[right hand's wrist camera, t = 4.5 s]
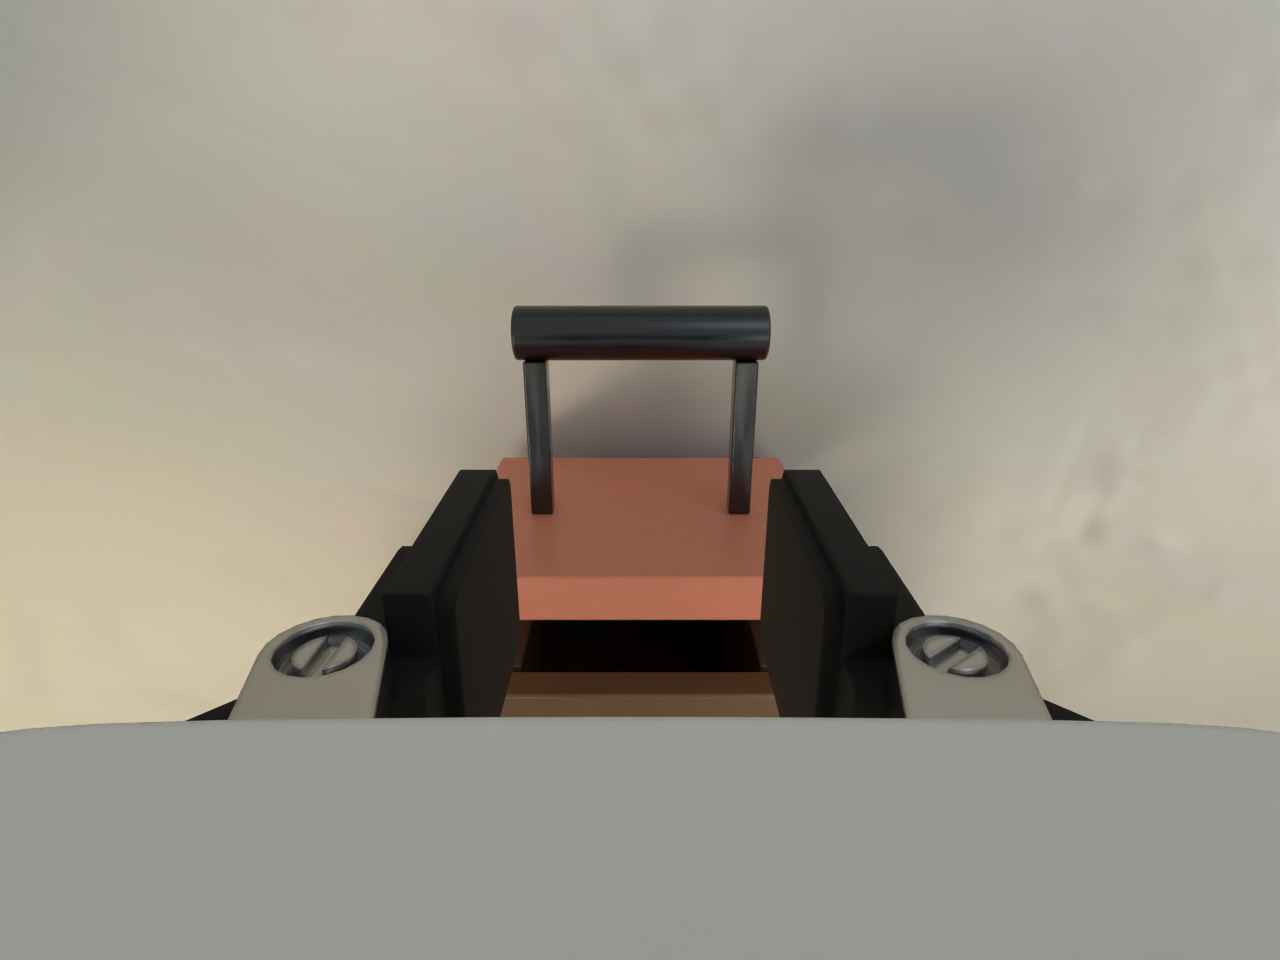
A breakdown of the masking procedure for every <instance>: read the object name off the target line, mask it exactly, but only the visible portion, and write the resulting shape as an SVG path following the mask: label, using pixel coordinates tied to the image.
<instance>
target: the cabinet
mask: <svg viewBox="0 0 1280 960" xmlns="http://www.w3.org/2000/svg"><path fill="white" fill-rule="evenodd" d="M500 717H780V716H779V712H778V708H777V705H776V701H775V697H774V693H773V689H772V686H771V682H770V678H769V674H768V672H512V674H511V678H510V682H509V686H508V689H507V693H506V697H505V701H504V705H503V708H502V712H501V716H500Z"/></svg>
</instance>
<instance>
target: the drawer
mask: <svg viewBox="0 0 1280 960" xmlns="http://www.w3.org/2000/svg"><path fill="white" fill-rule="evenodd" d="M770 336H771V321H770V313H769V309H768V307H766V306H515V307H514V308H513V311H512V317H511V342H512V349H513V354H514V356H515V359H517V360H525V361H524V362H523V373H524V390H525V408H526V425H527V443H528V458H503V459H502V461H501V463H500V465H499V467H498V469H497V471H496V472H497V474H498V479H509V481H510V486H511V497H512V512H513V527H514V542H515V556H516V571H517V586H518V601H519V615H520V641H519V647H518V651H517V655H516V659H515V663H514V667H513V670H512V672H768V670H767V667H766V663H765V659H764V655H763V651H762V647H761V641H760V616H761V601H762V586H763V571H764V556H765V542H766V527H767V512H768V497H769V486H770V481H771V479H782V474H783V472H784V468H783V466H782V464H781V462H780V460H779V459H778V458H753V450H754V433H755V416H756V399H757V381H758V362H757V360H765V359H766V358H767V355H768V352H769V347H770ZM548 360H733V376H732V398H731V420H730V442H729V458H553V452H552V430H551V408H550V385H549V363H548Z"/></svg>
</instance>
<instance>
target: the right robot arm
mask: <svg viewBox="0 0 1280 960" xmlns="http://www.w3.org/2000/svg"><path fill="white" fill-rule="evenodd" d="M519 641H520V615H519V601H518V586H517V571H516V556H515V542H514V527H513V512H512V497H511V486H510V481H509V479H498V474H497V472H496V470H460V471H459V473H458V474H457V476H456V477H455V479H454V481H453V482H452V484H451V485H450V487H449V488H448V490H447V492H446V493H445V495H444V496H443V498H442V500H441V501H440V503H439V504H438V506H437V507H436V509H435V511H434V512H433V514H432V515H431V517H430V518H429V520H428V522H427V523H426V525H425V526H424V528H423V530H422V531H421V533H420V534H419V536H418V537H417V539H416V541H415V542H414V544H413V545H412V546H402V547H401V548H400V549H399V550H398V551H397V553H396V554H395V556H394V557H393V559H392V560H391V562H390V563H389V565H388V566H387V568H386V569H385V571H384V572H383V574H382V575H381V577H380V578H379V580H378V581H377V583H376V585H375V586H374V588H373V589H372V591H371V592H370V594H369V595H368V597H367V598H366V600H365V601H364V603H363V604H362V606H361V607H360V609H359V610H358V612H357V613H356V615H355V616H353V615H350V616H331V617H325V618H319V619H314V620H311V621H308V622H305V623H302V624H299V625H296V626H294V627H292V628H290V629H288V630H286V631H284V632H282V633H280V634H279V635H277V636H276V637H275V638H273V639H272V640H271V641H269V642H268V643H267V644H266V645H265V646H264V648H263V649H262V650H261V652H260V653H259V654H258V656H257V658H256V660H255V662H254V664H253V667H252V669H251V671H250V673H249V675H248V677H247V679H246V682H245V684H244V686H243V688H242V690H241V692H240V694H239V696H238V699H236V700H234V701H231V702H229V703H227V704H224V705H222V706H220V707H217V708H215V709H213V710H210V711H208V712H205V713H203V714H201V715H198V716H196V717H194V718H191V719H189V720H187V721H175V722H143V723H110V724H89V725H75V726H61V727H47V728H32V729H22V730H15V731H7V732H0V960H1280V732H1273V731H1264V730H1256V729H1247V728H1236V727H1220V726H1204V725H1188V724H1172V723H1140V722H1103V721H1093V720H1091V719H1089V718H1086V717H1084V716H1082V715H1079V714H1077V713H1075V712H1072V711H1070V710H1067V709H1065V708H1063V707H1060V706H1058V705H1056V704H1053V703H1051V702H1049V701H1046V700H1044V699H1042V696H1041V694H1040V692H1039V690H1038V688H1037V686H1036V684H1035V682H1034V679H1033V677H1032V675H1031V673H1030V671H1029V669H1028V667H1027V664H1026V662H1025V660H1024V658H1023V656H1022V654H1021V653H1020V652H1019V650H1018V649H1017V648H1016V646H1015V645H1014V644H1013V643H1012V642H1011V641H1009V640H1008V639H1007V638H1005V637H1004V636H1003V635H1001V634H1000V633H998V632H996V631H994V630H992V629H990V628H988V627H986V626H984V625H981V624H978V623H975V622H972V621H969V620H966V619H961V618H955V617H949V616H930V615H927V616H925V615H924V613H923V612H922V610H921V609H920V607H919V606H918V604H917V603H916V601H915V600H914V598H913V597H912V595H911V594H910V592H909V591H908V589H907V587H906V586H905V584H904V583H903V581H902V580H901V578H900V577H899V575H898V574H897V572H896V571H895V569H894V568H893V566H892V565H891V563H890V562H889V560H888V559H887V557H886V556H885V554H884V553H883V551H882V550H881V549H880V548H879V547H878V546H868V545H867V544H866V542H865V541H864V539H863V537H862V536H861V534H860V533H859V531H858V529H857V528H856V526H855V525H854V523H853V522H852V520H851V518H850V517H849V515H848V514H847V512H846V511H845V509H844V507H843V506H842V504H841V503H840V501H839V499H838V498H837V496H836V495H835V493H834V492H833V490H832V488H831V487H830V485H829V484H828V482H827V481H826V479H825V477H824V476H823V474H822V473H821V471H820V470H784V472H783V474H782V479H771V481H770V486H769V497H768V512H767V527H766V542H765V556H764V571H763V586H762V601H761V616H760V641H761V647H762V651H763V655H764V659H765V663H766V667H767V670H768V674H769V678H770V682H771V686H772V689H773V693H774V697H775V701H776V705H777V708H778V712H779V716H780V717H500V716H501V712H502V708H503V705H504V701H505V697H506V693H507V689H508V686H509V682H510V678H511V674H512V670H513V667H514V663H515V659H516V655H517V651H518V647H519Z"/></svg>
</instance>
